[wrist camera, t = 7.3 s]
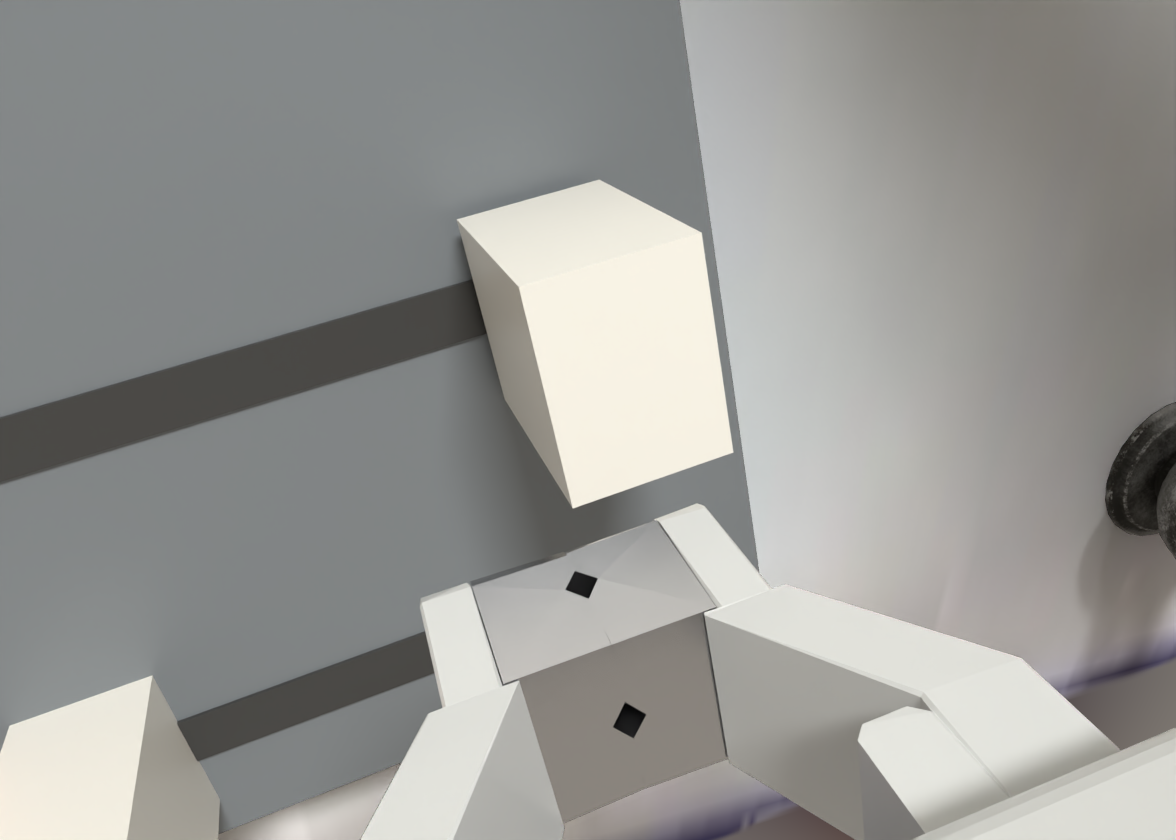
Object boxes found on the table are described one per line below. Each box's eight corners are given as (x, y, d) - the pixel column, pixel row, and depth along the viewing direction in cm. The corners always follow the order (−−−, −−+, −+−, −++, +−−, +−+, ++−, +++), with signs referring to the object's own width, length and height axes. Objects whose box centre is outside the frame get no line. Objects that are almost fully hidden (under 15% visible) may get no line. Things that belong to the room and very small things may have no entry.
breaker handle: (599, 179, 19) (701, 232, 15) (633, 357, 21) (732, 452, 16) (456, 219, 18) (518, 286, 14) (504, 399, 20) (572, 508, 16)
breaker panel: (572, -337, 18) (765, -544, 11) (719, 563, 28) (869, 746, 21) (-639, -138, 15) (-1464, -266, 8) (25, 822, 25) (-66, 1146, 18)
